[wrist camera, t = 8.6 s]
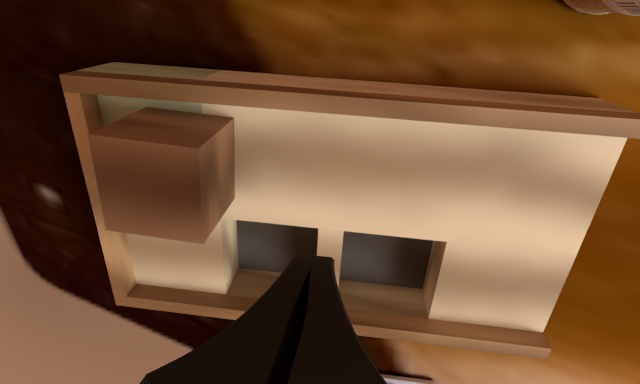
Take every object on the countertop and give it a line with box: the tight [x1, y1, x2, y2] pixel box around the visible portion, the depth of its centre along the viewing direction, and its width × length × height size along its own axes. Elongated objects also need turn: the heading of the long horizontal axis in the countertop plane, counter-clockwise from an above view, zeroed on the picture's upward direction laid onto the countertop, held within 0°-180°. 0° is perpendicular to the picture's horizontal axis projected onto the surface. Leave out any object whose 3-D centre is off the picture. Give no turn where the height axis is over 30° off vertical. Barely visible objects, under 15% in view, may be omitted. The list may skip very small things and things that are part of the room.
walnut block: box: [88, 107, 235, 244], centre depth 18 cm, size 4×4×4 cm
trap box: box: [59, 62, 640, 359], centre depth 22 cm, size 14×26×4 cm, turn 87°
